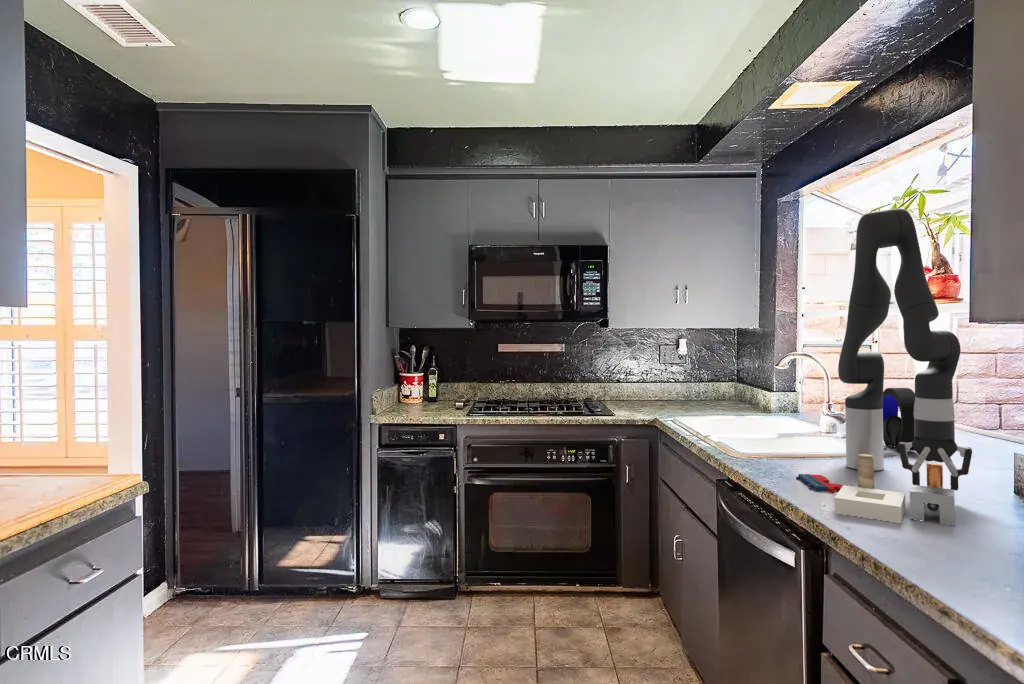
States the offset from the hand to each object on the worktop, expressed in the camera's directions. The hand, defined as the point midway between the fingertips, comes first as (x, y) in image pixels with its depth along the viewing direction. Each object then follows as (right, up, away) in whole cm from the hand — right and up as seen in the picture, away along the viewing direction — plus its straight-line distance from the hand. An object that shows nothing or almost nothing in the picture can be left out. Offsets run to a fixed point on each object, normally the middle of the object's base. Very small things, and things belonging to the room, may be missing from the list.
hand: (934, 489), depth 132 cm
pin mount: (-9, -3, -12) cm, 16 cm away
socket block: (-19, -3, -6) cm, 20 cm away
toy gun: (-17, -3, +15) cm, 23 cm away
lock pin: (-4, -2, -5) cm, 7 cm away
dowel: (-14, -3, +4) cm, 14 cm away
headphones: (+29, -1, +54) cm, 62 cm away
